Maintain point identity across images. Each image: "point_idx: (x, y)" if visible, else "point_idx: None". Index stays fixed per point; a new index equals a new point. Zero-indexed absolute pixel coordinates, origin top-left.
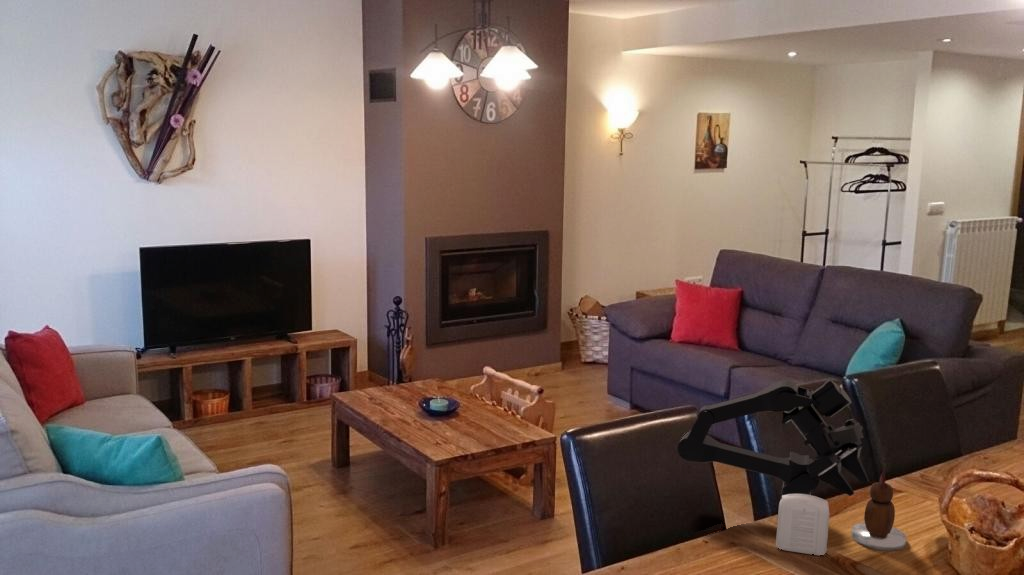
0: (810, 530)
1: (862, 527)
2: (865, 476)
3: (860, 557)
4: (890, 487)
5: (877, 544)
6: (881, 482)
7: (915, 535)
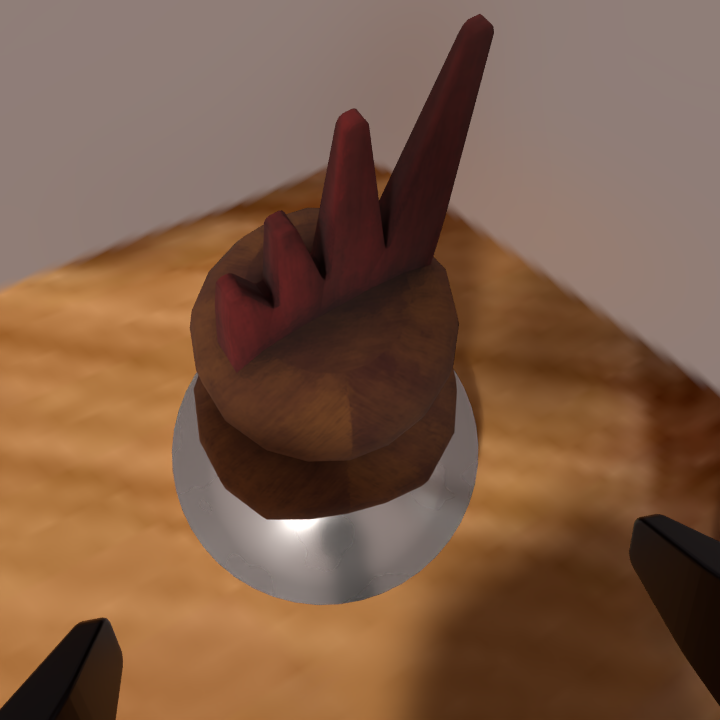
0: None
1: (329, 546)
2: (75, 679)
3: (595, 404)
4: (314, 210)
5: (458, 380)
6: (388, 254)
7: (124, 343)
